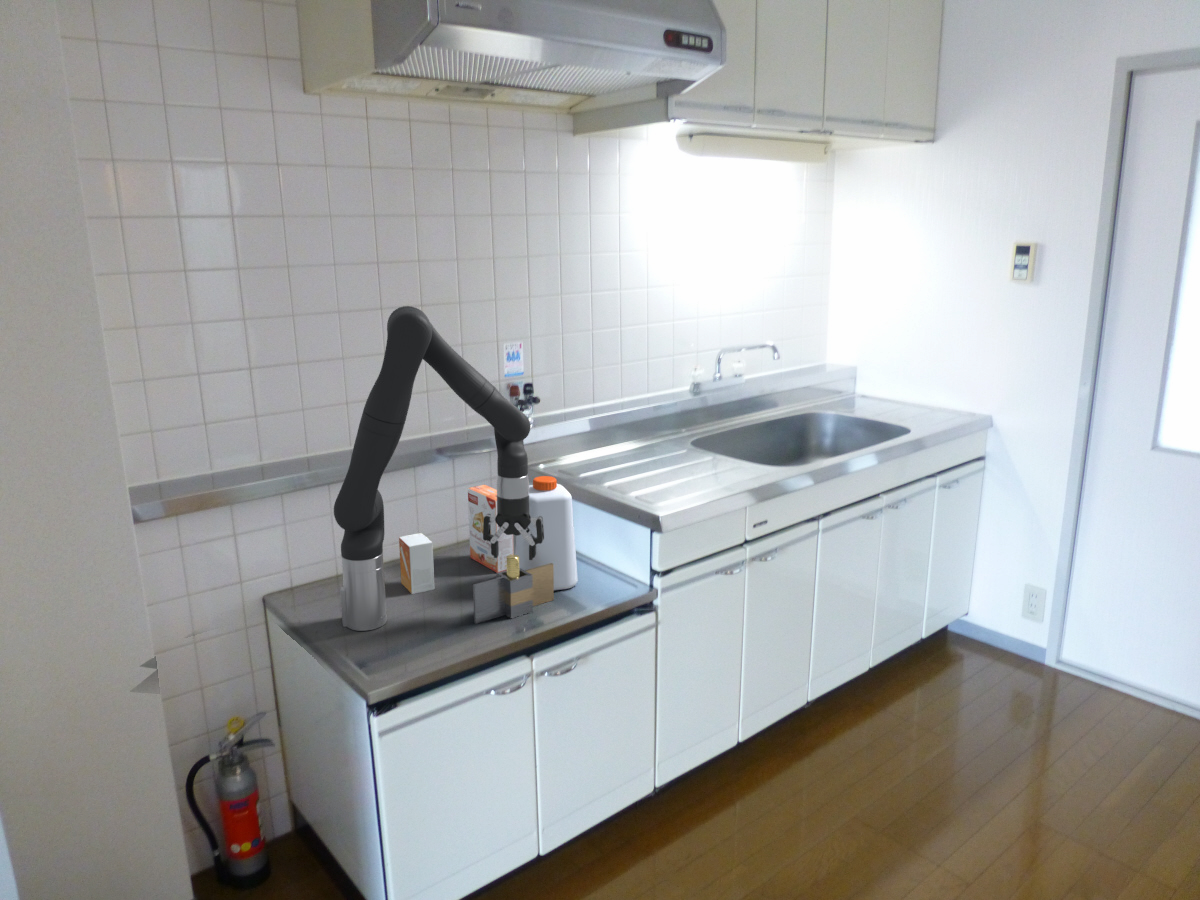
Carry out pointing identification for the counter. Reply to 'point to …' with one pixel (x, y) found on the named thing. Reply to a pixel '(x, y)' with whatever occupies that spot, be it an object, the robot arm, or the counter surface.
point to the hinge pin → (513, 566)
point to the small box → (416, 563)
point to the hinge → (513, 593)
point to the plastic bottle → (551, 532)
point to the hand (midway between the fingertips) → (513, 557)
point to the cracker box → (480, 505)
